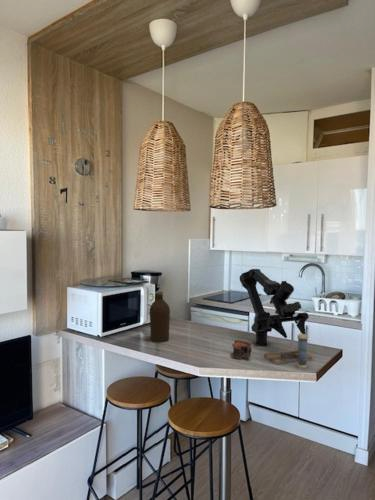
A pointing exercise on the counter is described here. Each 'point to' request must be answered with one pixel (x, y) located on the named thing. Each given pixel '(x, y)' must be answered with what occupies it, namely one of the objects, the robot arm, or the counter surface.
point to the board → (283, 356)
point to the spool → (302, 350)
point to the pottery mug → (241, 349)
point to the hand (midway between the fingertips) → (295, 336)
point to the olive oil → (159, 319)
